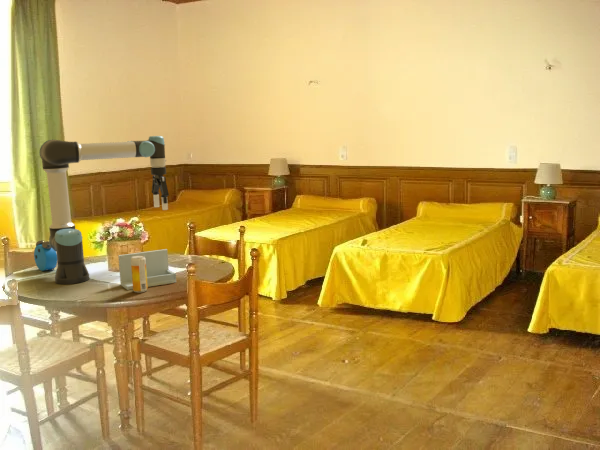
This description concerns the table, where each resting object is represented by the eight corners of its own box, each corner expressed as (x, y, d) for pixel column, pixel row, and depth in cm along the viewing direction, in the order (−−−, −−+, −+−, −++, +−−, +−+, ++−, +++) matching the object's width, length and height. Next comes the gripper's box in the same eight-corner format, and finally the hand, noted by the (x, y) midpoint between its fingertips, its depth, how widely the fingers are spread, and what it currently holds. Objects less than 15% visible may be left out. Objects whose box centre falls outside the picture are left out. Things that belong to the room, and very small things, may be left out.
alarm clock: (58, 270, 330) (55, 241, 328) (46, 273, 326) (43, 243, 323) (46, 267, 339) (43, 238, 336) (34, 269, 334) (31, 240, 332)
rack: (127, 290, 286) (125, 259, 284) (120, 285, 296) (118, 255, 293) (176, 282, 297) (174, 252, 295) (168, 277, 306) (166, 249, 304)
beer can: (141, 288, 288) (139, 254, 285) (150, 290, 284) (148, 256, 281) (130, 291, 283) (127, 257, 281) (139, 293, 279) (136, 258, 277)
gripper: (173, 167, 326) (176, 210, 329) (157, 165, 348) (160, 205, 351) (158, 168, 322) (161, 211, 326) (143, 166, 344) (146, 206, 347)
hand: (160, 208), depth 338 cm, fingers open, 13 cm apart
